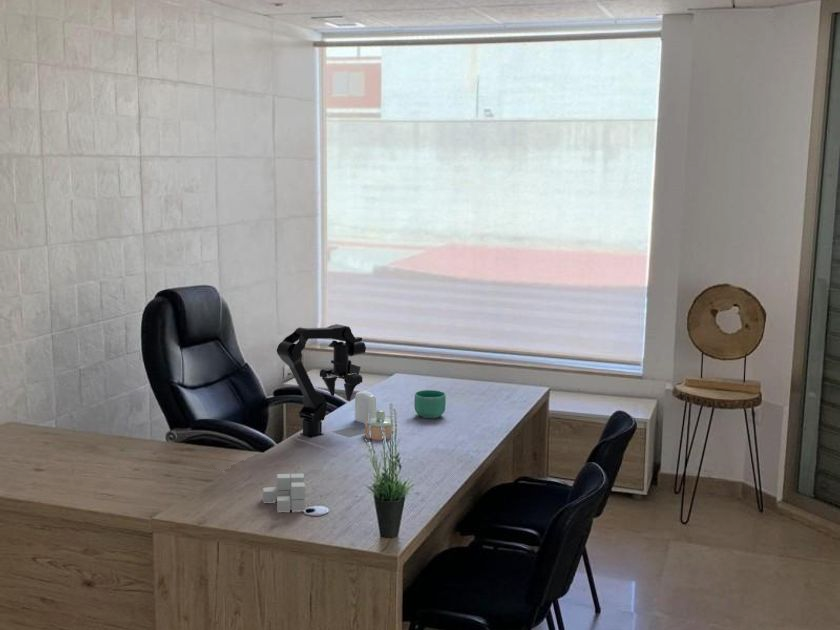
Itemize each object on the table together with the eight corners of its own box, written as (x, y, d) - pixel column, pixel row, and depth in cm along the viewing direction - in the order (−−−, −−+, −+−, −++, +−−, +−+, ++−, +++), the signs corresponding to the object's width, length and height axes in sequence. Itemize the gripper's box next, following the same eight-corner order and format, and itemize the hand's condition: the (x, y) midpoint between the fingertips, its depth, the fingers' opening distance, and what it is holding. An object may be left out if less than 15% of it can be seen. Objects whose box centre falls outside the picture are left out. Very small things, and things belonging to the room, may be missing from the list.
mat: (349, 438, 351) (349, 437, 351) (331, 432, 357) (331, 431, 357) (369, 433, 358) (369, 432, 358) (351, 427, 365) (351, 426, 365)
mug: (440, 421, 376) (440, 398, 375) (410, 418, 380) (410, 395, 379) (451, 411, 392) (451, 389, 391) (422, 409, 396) (422, 386, 394)
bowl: (379, 442, 346) (379, 429, 345) (359, 436, 353) (359, 423, 353) (401, 436, 354) (401, 423, 353) (380, 430, 361) (380, 418, 360)
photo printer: (353, 420, 375) (353, 390, 373) (362, 419, 378) (362, 388, 376) (368, 426, 367) (369, 395, 365) (377, 424, 370) (378, 393, 368)
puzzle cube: (263, 499, 284) (263, 474, 283) (303, 498, 286) (303, 473, 285) (262, 514, 273) (262, 487, 271) (304, 512, 274) (304, 486, 273)
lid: (379, 428, 346) (380, 415, 345) (361, 423, 353) (361, 410, 352) (399, 423, 353) (399, 411, 352) (380, 418, 360) (381, 406, 359)
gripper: (373, 358, 358) (372, 399, 361) (340, 351, 371) (340, 390, 373) (351, 362, 350) (350, 403, 353) (318, 355, 363) (318, 394, 366)
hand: (340, 398), depth 361 cm, fingers open, 9 cm apart
